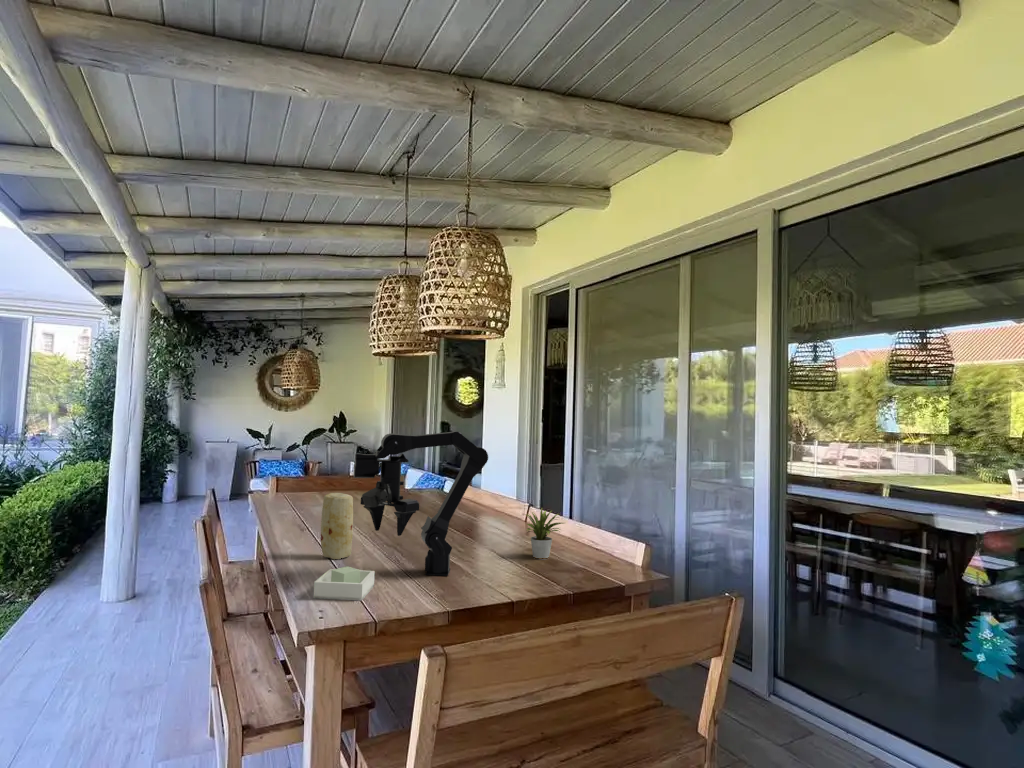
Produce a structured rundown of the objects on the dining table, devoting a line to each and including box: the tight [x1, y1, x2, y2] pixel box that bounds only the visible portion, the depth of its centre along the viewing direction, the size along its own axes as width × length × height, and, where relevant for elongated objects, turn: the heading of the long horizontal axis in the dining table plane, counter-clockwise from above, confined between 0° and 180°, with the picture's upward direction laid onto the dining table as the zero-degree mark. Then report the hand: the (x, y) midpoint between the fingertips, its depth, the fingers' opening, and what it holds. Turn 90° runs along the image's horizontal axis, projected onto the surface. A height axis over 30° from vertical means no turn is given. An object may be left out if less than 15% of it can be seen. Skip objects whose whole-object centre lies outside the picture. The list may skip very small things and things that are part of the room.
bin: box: [313, 568, 376, 602], centre depth 154 cm, size 12×12×4 cm
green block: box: [331, 565, 361, 583], centre depth 154 cm, size 5×5×5 cm
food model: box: [320, 492, 354, 560], centre depth 187 cm, size 10×7×20 cm
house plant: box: [522, 507, 565, 559], centre depth 196 cm, size 14×14×16 cm
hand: (388, 533), depth 170 cm, fingers open, 9 cm apart
